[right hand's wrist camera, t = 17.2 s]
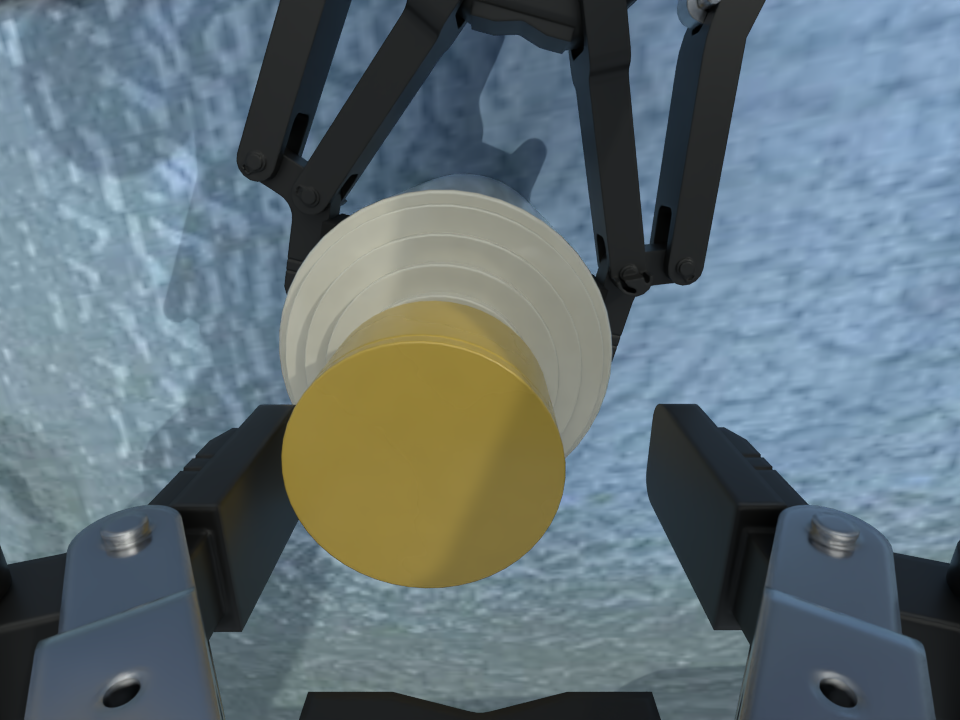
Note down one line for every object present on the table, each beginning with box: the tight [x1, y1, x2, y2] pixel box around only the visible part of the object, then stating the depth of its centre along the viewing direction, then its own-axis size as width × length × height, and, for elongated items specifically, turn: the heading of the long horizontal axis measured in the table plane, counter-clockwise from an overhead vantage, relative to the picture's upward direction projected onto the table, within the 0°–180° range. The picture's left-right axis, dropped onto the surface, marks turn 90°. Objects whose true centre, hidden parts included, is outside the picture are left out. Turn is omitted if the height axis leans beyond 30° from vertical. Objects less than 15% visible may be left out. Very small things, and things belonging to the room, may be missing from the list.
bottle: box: [279, 174, 612, 458], centre depth 18 cm, size 8×8×18 cm
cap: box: [281, 301, 566, 588], centre depth 10 cm, size 5×5×2 cm
